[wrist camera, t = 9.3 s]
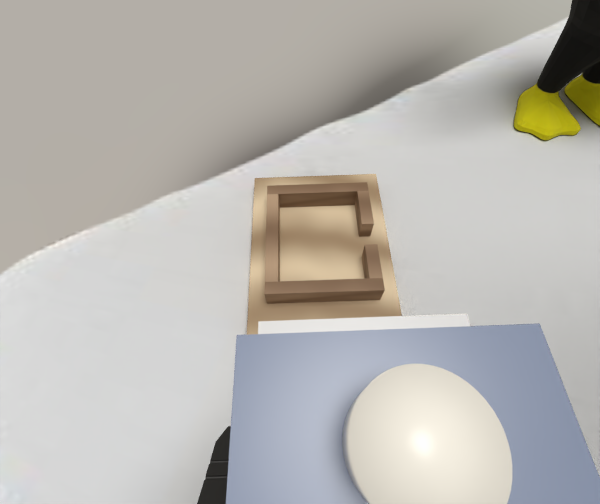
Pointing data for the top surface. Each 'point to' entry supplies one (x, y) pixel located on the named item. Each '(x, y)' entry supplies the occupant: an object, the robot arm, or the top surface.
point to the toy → (566, 78)
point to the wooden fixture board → (319, 250)
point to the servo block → (403, 415)
